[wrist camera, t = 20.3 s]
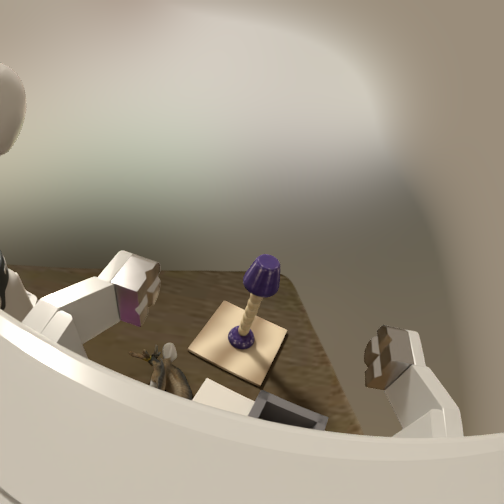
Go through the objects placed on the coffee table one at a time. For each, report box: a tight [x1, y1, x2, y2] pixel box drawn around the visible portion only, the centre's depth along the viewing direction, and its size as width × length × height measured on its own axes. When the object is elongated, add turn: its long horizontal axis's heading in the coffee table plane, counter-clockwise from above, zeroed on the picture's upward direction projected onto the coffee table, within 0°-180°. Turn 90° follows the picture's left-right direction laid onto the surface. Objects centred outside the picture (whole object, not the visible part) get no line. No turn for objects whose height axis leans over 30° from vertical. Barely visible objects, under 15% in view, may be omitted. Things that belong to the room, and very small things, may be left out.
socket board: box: [192, 378, 328, 431], centre depth 29 cm, size 20×18×6 cm
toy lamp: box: [228, 254, 280, 349], centre depth 41 cm, size 5×5×17 cm
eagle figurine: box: [128, 343, 192, 400], centre depth 36 cm, size 8×7×9 cm
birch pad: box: [188, 301, 287, 387], centre depth 47 cm, size 12×12×1 cm
